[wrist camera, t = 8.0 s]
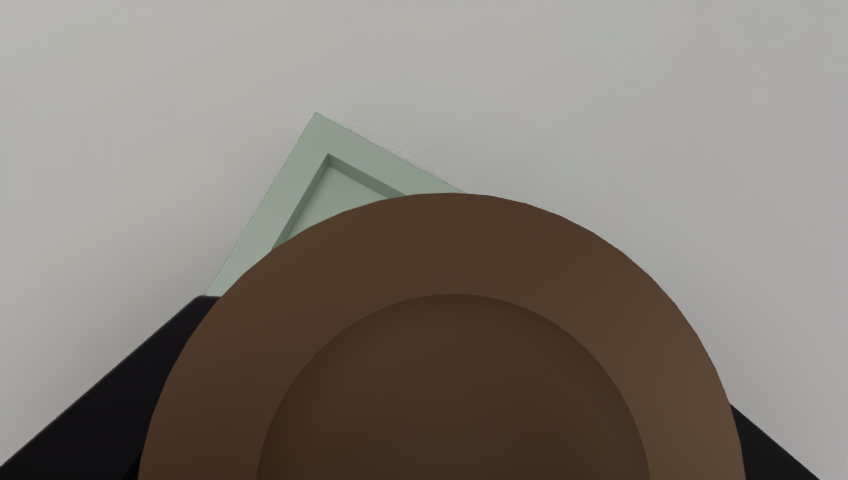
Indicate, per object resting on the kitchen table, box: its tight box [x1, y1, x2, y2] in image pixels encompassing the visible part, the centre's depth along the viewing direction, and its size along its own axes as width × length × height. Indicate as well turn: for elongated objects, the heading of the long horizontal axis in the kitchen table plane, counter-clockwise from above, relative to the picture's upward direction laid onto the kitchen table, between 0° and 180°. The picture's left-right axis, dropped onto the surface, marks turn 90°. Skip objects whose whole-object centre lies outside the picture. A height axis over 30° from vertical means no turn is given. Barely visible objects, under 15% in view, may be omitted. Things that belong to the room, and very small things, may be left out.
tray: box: [206, 112, 467, 296], centre depth 21 cm, size 13×13×2 cm
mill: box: [138, 192, 746, 480], centre depth 9 cm, size 5×5×11 cm
